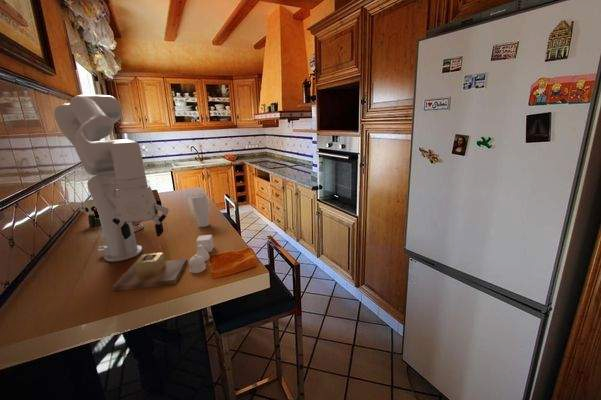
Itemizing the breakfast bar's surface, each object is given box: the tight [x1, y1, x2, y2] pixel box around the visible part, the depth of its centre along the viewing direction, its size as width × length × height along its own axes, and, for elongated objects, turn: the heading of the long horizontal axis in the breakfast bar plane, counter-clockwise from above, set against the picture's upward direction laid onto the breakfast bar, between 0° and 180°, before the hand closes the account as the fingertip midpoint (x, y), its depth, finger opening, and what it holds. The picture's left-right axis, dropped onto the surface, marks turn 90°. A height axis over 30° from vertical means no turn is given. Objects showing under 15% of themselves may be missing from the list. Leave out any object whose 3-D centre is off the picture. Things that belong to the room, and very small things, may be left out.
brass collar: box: [133, 251, 166, 278], centre depth 91 cm, size 6×6×5 cm
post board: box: [111, 256, 188, 292], centre depth 91 cm, size 18×14×6 cm
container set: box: [188, 234, 215, 274], centre depth 101 cm, size 20×5×6 cm, turn 7°
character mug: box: [78, 198, 101, 227], centre depth 146 cm, size 11×7×13 cm, turn 107°
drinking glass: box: [191, 193, 210, 228], centre depth 134 cm, size 7×7×15 cm
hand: (143, 236), depth 89 cm, fingers open, 9 cm apart
